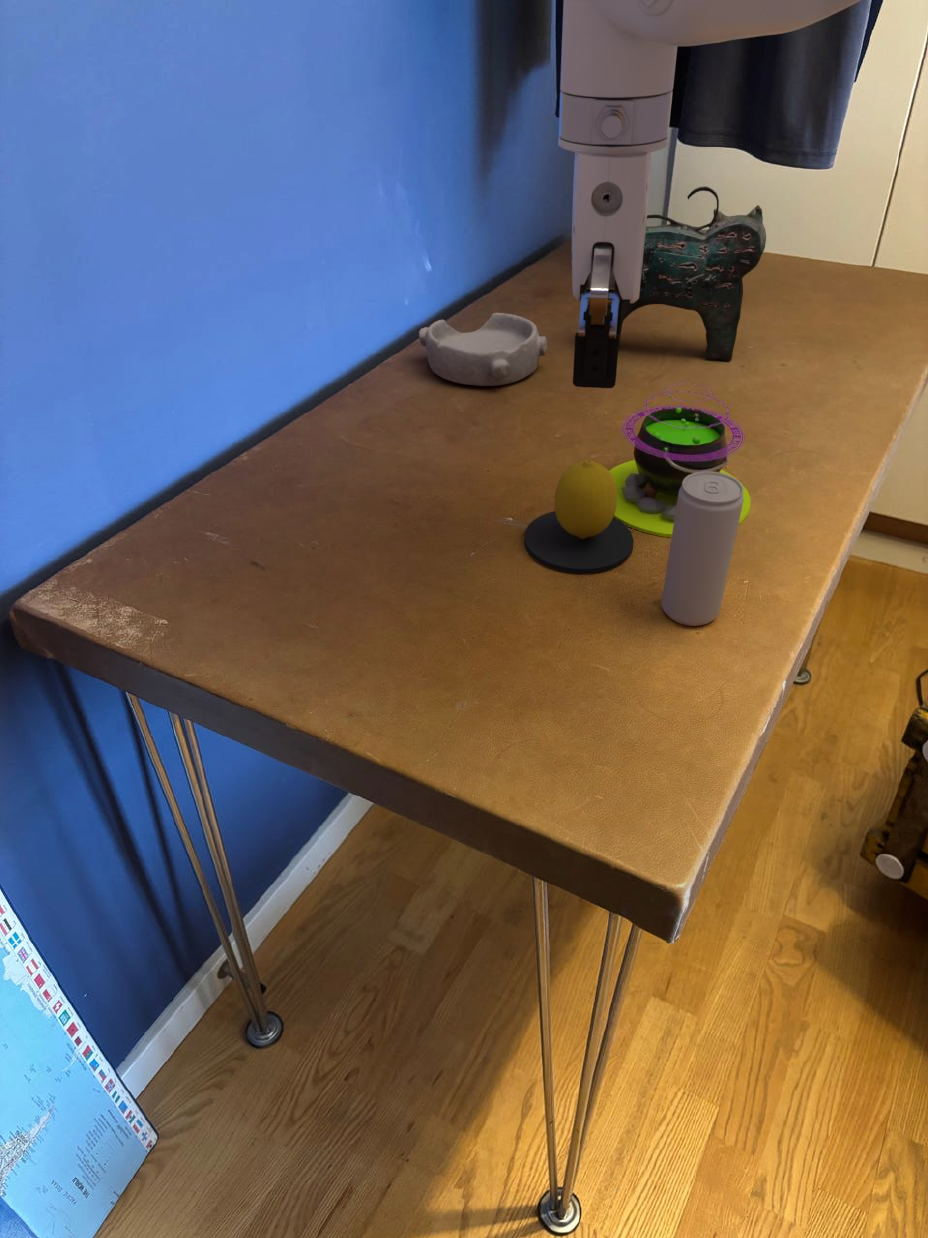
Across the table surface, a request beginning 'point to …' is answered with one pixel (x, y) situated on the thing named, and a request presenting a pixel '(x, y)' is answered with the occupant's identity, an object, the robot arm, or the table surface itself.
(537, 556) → the disc
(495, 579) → the table surface
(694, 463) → the toy cauldron
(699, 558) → the beverage can
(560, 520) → the lemon
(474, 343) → the dish
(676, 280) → the ceramic cat
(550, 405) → the table surface
